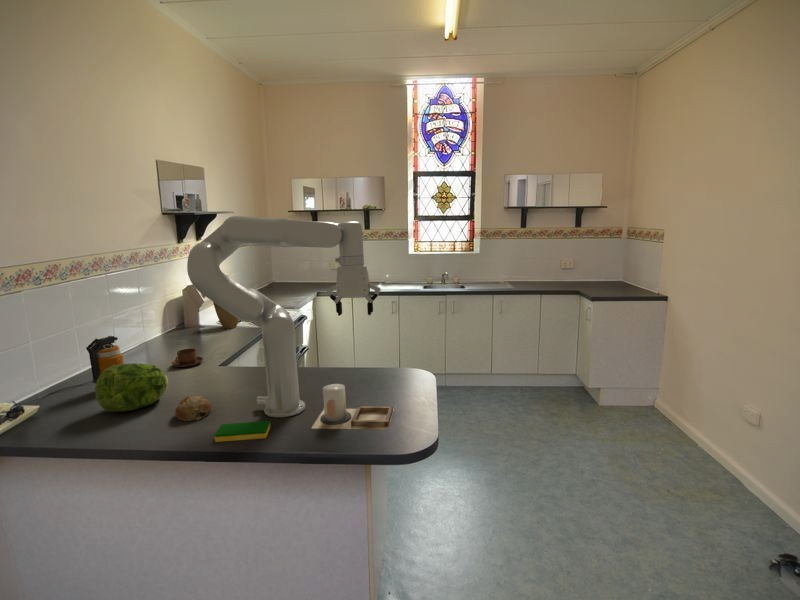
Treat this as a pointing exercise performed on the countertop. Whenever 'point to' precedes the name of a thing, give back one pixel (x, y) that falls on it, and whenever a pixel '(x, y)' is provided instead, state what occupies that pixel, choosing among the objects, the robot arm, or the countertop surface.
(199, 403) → the bread roll
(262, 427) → the dish sponge
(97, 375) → the canister
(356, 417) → the jug stand
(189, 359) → the cup and saucer
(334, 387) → the jug
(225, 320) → the plant pot
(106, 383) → the lettuce
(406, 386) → the countertop surface
